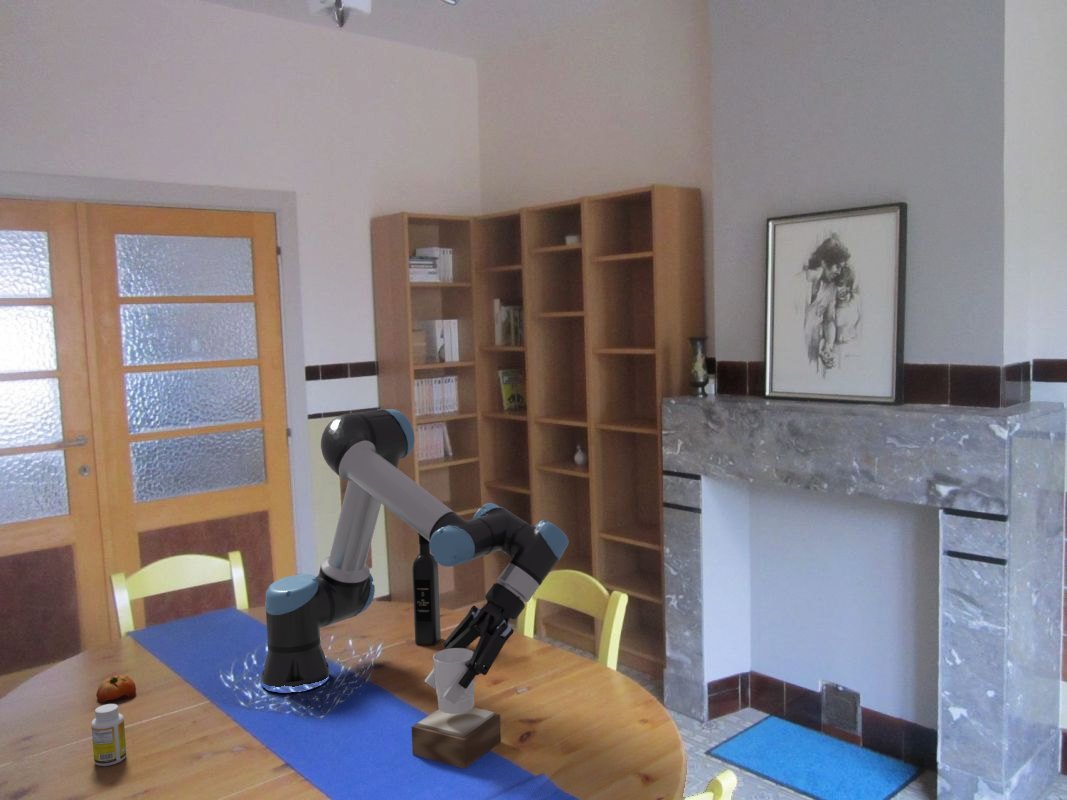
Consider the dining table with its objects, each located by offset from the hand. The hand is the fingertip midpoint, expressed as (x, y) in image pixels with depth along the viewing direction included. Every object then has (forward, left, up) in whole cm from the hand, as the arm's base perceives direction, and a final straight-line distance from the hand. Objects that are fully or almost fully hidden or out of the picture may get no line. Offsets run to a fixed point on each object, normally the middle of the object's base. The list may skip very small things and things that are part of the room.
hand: (439, 692), depth 167 cm
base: (+2, +3, -12) cm, 12 cm away
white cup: (+2, +3, -4) cm, 5 cm away
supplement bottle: (-54, -31, -12) cm, 64 cm away
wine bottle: (-38, +47, -12) cm, 62 cm away
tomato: (-81, -12, -12) cm, 82 cm away
